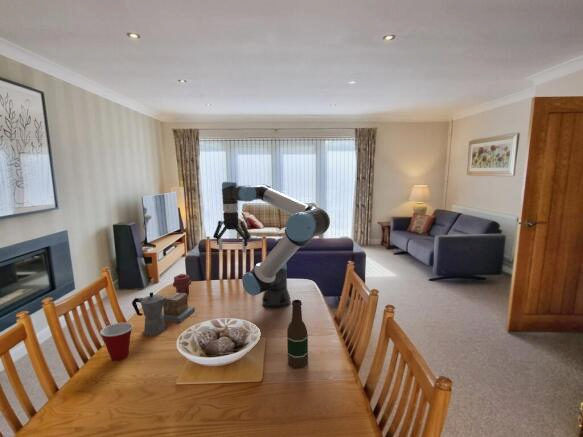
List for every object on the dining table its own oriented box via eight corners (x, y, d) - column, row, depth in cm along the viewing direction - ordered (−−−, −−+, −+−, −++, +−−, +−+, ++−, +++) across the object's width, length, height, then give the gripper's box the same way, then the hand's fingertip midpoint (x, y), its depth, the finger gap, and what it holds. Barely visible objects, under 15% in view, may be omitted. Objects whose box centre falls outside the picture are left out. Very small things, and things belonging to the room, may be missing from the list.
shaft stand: (194, 310, 149) (193, 295, 147) (180, 322, 137) (179, 305, 136) (172, 308, 152) (171, 293, 150) (157, 319, 140) (155, 303, 139)
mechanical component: (194, 291, 173) (188, 298, 163) (178, 291, 173) (170, 299, 163) (193, 272, 171) (186, 278, 161) (176, 272, 171) (169, 278, 161)
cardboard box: (164, 314, 141) (162, 298, 140) (174, 307, 149) (172, 291, 148) (178, 315, 139) (177, 299, 138) (187, 308, 147) (186, 293, 146)
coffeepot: (173, 324, 135) (170, 288, 133) (165, 335, 126) (162, 296, 123) (140, 325, 135) (136, 289, 132) (129, 336, 125) (125, 297, 123)
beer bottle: (293, 372, 102) (292, 307, 98) (283, 359, 108) (282, 299, 105) (312, 365, 105) (311, 302, 101) (301, 353, 112) (300, 294, 108)
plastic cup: (142, 351, 115) (139, 322, 113) (118, 368, 105) (114, 337, 103) (121, 346, 119) (118, 318, 117) (96, 362, 109) (92, 332, 107)
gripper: (205, 212, 149) (207, 252, 152) (250, 213, 143) (252, 254, 146) (212, 210, 156) (214, 248, 159) (255, 211, 150) (257, 250, 154)
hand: (232, 251), depth 153 cm, fingers open, 13 cm apart
